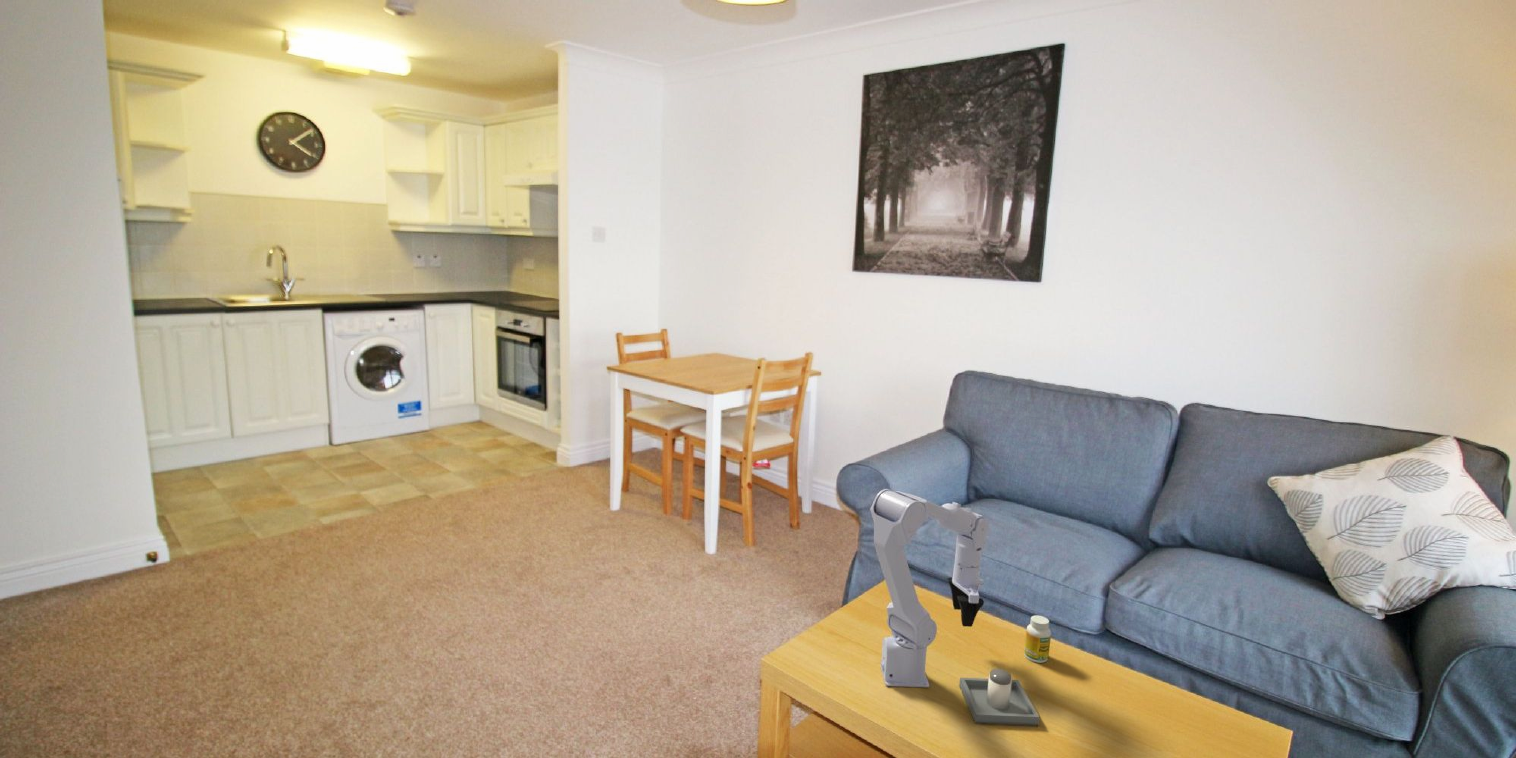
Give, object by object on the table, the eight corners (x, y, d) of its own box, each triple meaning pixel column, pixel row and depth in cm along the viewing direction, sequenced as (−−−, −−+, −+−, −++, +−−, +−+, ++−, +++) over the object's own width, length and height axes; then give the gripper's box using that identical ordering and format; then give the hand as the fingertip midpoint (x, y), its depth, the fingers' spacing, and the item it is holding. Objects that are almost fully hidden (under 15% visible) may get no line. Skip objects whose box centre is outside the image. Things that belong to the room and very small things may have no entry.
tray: (975, 723, 145) (976, 714, 145) (959, 685, 157) (959, 677, 157) (1038, 725, 145) (1039, 717, 145) (1017, 688, 157) (1018, 679, 157)
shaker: (990, 709, 149) (993, 680, 148) (983, 696, 153) (986, 668, 152) (1012, 709, 149) (1015, 681, 148) (1004, 696, 153) (1007, 668, 152)
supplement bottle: (1033, 648, 173) (1037, 611, 172) (1053, 659, 169) (1057, 621, 167) (1019, 654, 170) (1023, 617, 169) (1038, 666, 166) (1043, 627, 164)
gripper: (994, 577, 159) (989, 634, 161) (976, 549, 173) (971, 602, 175) (962, 576, 159) (957, 633, 161) (946, 548, 173) (942, 601, 175)
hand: (962, 617), depth 168 cm, fingers open, 7 cm apart
